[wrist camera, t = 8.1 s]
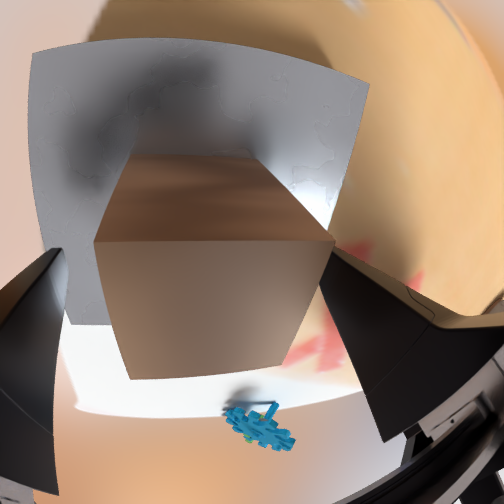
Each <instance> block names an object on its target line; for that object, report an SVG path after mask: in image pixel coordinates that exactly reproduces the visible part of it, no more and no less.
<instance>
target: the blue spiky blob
mask: <svg viewBox="0 0 504 504" xmlns="http://www.w3.org/2000/svg"><path fill="white" fill-rule="evenodd" d="M278 407H279V404H278V403H276V402H273V403H272V405H271V406H270V408H269V410H268V411H267V413H266V415H265V416H263V415H260V414H259V413H257V412H255V411H251V412H250V413H249V415H248V417H247V416H245V415H244V413H245V410H244V409H242V408H238V407H236V408H235V409H234V410H232V409H229V410H228V411H227V412H226V413H225V415H226V416H227V417H228V418H227V419H226V422H227V423H229V424H231V425H234V426H233V427H232V428H233V430H234V431H236V432H238V433H243V434H244V438H246V441H247V442H248V443H252V441H253V440H258V441H259V443H258V445H260V446H262V447H264V448H266V447H267V445H268V444H271V445H272V449H273V450H276V451H280V450H281V449H283V450H286V451H290V450H291V448H292V447H293V445H294V443H295V441H296V440H295V439H294V438H290V437H289V436H290V435H291V433H290V431H289V430H287V429H278V428H276V427H277V426H278V423H277V422H275V421H274V420H273V419H272V417H273V415H274V414H275V412H276V410H277V409H278Z"/></svg>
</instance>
